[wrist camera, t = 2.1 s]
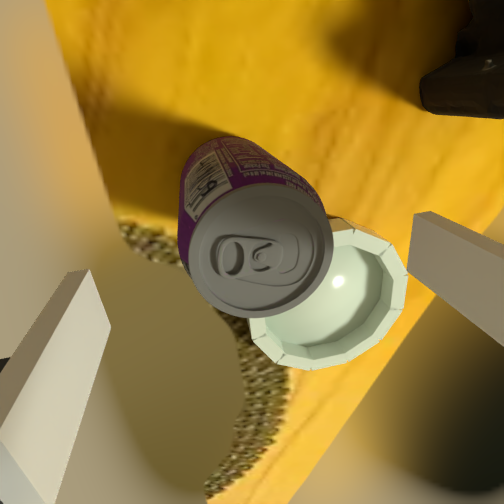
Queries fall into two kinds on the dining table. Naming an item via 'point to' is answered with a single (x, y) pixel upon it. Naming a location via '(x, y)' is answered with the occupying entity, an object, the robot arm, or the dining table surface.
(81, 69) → the dining table surface
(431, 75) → the camera
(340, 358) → the tray
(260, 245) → the beverage can
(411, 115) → the dining table surface
